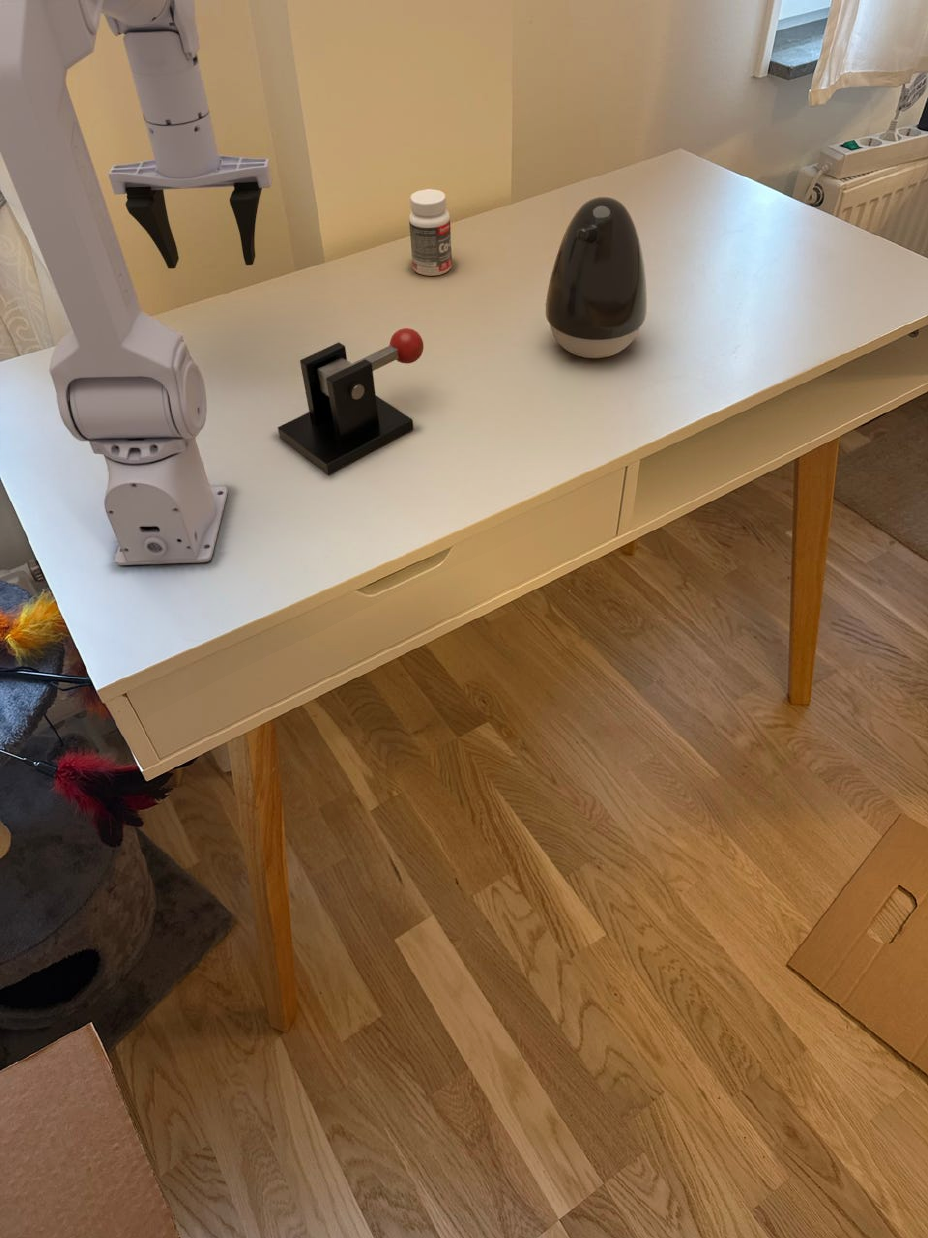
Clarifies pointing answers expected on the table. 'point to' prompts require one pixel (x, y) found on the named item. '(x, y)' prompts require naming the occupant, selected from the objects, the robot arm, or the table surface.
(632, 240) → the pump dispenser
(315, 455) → the bracket
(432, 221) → the pill bottle
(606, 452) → the table surface
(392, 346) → the lever
